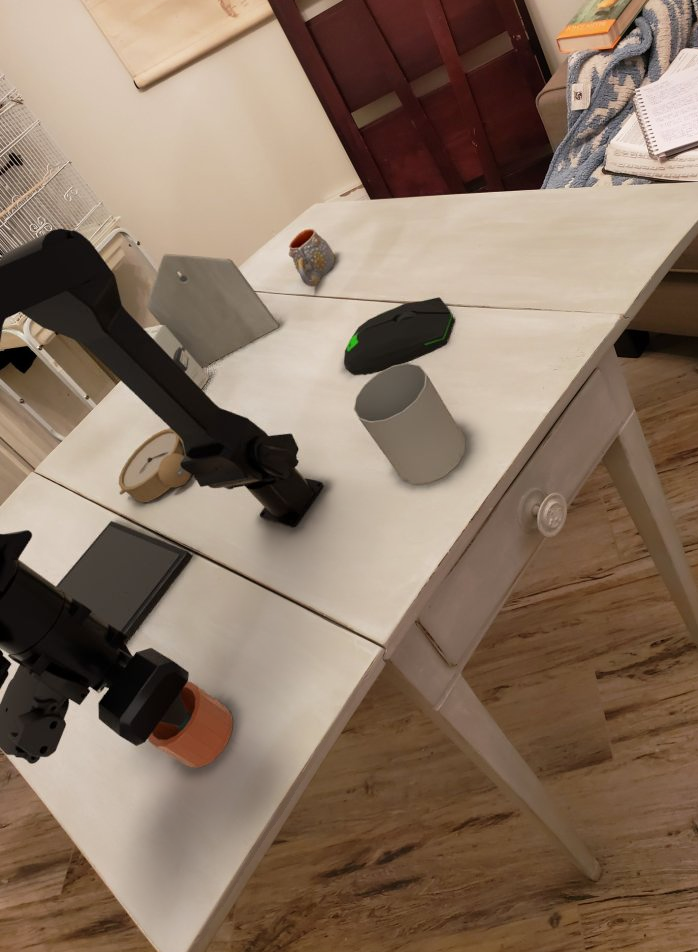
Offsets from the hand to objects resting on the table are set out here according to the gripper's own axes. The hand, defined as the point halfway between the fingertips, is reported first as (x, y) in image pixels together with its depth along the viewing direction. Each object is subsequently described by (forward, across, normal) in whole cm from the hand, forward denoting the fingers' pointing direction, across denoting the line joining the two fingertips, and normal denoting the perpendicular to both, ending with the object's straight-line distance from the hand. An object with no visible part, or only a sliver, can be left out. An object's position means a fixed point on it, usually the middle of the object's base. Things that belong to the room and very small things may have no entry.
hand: (165, 707), depth 65 cm
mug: (+6, -41, +69) cm, 80 cm away
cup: (+6, +5, +36) cm, 37 cm away
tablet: (+6, -30, +9) cm, 32 cm away
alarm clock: (+6, -37, +26) cm, 46 cm away
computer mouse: (+6, -12, +54) cm, 56 cm away
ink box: (+6, -51, +41) cm, 66 cm away
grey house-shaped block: (+6, -49, +54) cm, 73 cm away
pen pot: (+6, 0, 0) cm, 6 cm away
